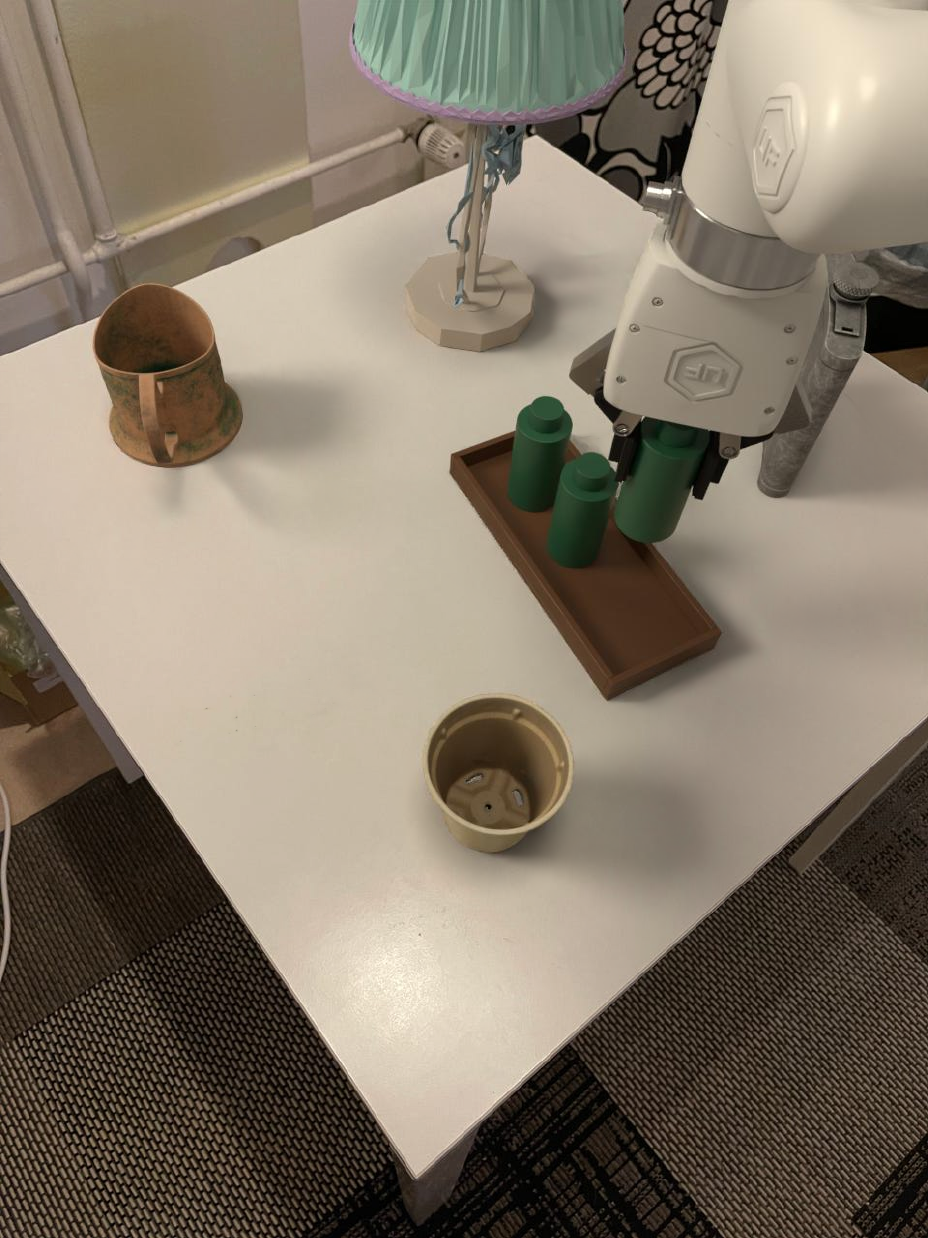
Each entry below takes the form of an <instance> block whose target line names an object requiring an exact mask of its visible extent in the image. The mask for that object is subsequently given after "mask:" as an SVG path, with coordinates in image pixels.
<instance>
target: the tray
mask: <svg viewBox="0 0 928 1238" xmlns="http://www.w3.org/2000/svg"><path fill="white" fill-rule="evenodd" d="M514 437H515V430H513V431H510V432H507V433H504V434H502V435H499V436H497V437H493V438H490V439H488V440H485V441H483V442H480V443H477V444H474V445H471V446H469V447H466V448H463V449H461V450H458V451H454V452H452V453H451V454H450V460H449V474H450V475H451V477H452V478H453V479H454V482H456V484H457V486H458V487H459V488H460V490H461V491H462V493H463V494H464V495H465V497H466V499H467V500H468V502H469V503H470V505H471V506H472V507H473V509H474V510H475V511H476V513H477V514H478V516H479V517H480V519H481V521H482V522H483V523H484V525H485V526H486V527H487V529H488V531H489V532H490V534H491V535H492V536H493V538H494V539H495V541H496V542H497V544H498V545H499V546H500V548H501V549H502V551H503V553H504V554H505V555H506V557H507V558H508V560H509V561H510V563H511V564H512V565H513V567H514V568H515V570H516V571H517V572H518V574H519V576H520V577H521V578H522V580H523V582H524V583H525V584H526V586H527V588H529V589H528V590H530V592H531V593H532V594H533V596H534V598H535V599H536V600H537V602H538V604H539V605H540V607H541V608H542V609H543V611H544V612H545V613H546V615H547V616H548V618H549V619H550V621H551V622H552V624H553V625H554V627H555V628H556V629H557V631H558V632H559V634H560V635H561V636H562V638H563V639H564V641H565V642H566V644H567V645H568V647H569V648H570V650H571V651H572V653H573V654H574V655H575V657H576V658H577V660H578V661H579V663H580V664H581V665H582V668H583V669H584V670H585V671H586V673H587V675H588V676H589V677H590V679H591V680H592V682H593V683H594V685H595V686H596V687H597V689H598V690H599V692H600V693H601V695H602V696H603V698H604V699H605V701H608V700H610V699H612V698H614V697H617V696H619V695H621V694H623V693H625V692H627V691H629V690H631V689H634V688H635V687H638V686H640V685H641V684H644V683H645V682H648V681H650V680H652V679H654V678H656V677H658V676H660V675H662V674H664V673H666V672H669V671H670V670H672V669H674V668H677V667H678V666H679V667H680V666H681V665H683V664H685V663H687V662H689V661H691V660H693V659H695V658H697V657H699V656H702V655H703V654H705V653H708V652H710V651H712V650H713V649H715V647H716V646H717V644H718V642H719V640H720V639H721V637H722V635H723V633H724V632H723V630H722V629H720V626H719V625H717V623H716V622H715V621H714V620H713V618H712V617H711V616H710V613H708V612H707V611H706V609H705V608H704V607H703V606H702V604H701V603H700V601H698V599H697V598H696V597H695V595H694V594H693V593H692V592H691V590H690V589H689V588H688V587H687V586H686V584H685V583H684V581H683V580H682V579H681V577H679V575H678V574H677V573H676V571H675V570H674V569H673V568H672V566H671V565H670V564H669V562H668V561H667V560H666V559H665V558H664V556H663V555H662V554H661V553H660V551H659V550H658V549H657V548H656V546H655V545H654V543H643V542H639V541H636V540H633V539H631V538H629V537H628V536H626V535H625V534H624V533H623V532H622V531H621V530H620V529H619V528H618V526H617V524H616V522H615V519H614V510H615V507H616V503H617V500H618V498H617V497H616V496H615V499H614V502H613V506H612V509H611V513H610V516H609V519H608V523H607V526H606V530H605V533H604V536H603V540H602V543H601V547H600V550H599V553H598V556H597V558H596V559H595V560H594V561H593V562H592V563H591V564H589V565H587V566H585V567H581V568H569V567H565V566H562V565H560V564H558V563H557V562H556V561H554V560H553V559H552V558H551V556H550V555H549V553H548V551H547V548H546V542H547V537H548V532H549V527H550V523H551V518H552V513H553V508H554V505H553V506H552V507H551V508H549V509H547V510H545V511H541V512H528V511H524V510H522V509H519V508H518V507H516V506H515V505H514V504H513V503H512V502H511V501H510V499H509V497H508V494H507V487H508V480H509V473H510V466H511V459H512V451H513V444H514ZM582 454H583V453H581V451H580V450H579V449H578V448H577V447H576V445H575V444H574V443H573V442H572V440H570V442H569V447H568V451H567V456H566V461H565V465H566V464H567V463H569V462H570V461H572V460H574V459H577V458H578V457H579V456H580V455H582ZM565 465H564V466H565Z"/></svg>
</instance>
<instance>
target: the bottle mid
mask: <svg viewBox="0 0 928 1238" xmlns="http://www.w3.org/2000/svg"><path fill="white" fill-rule="evenodd" d="M581 454H582V455H580V456H579V457H578V458H577V459H574V460H572V461H570V462H569V463H567V464H566V465H565V466H564V468H563V469H562V471H561V475H560V480H559V485H558V489H557V494H556V499H555V504H554V508H553V513H552V518H551V523H550V527H549V532H548V537H547V542H546V548H547V551H548V553H549V555H550V556H551V558H552V559H553V560H554V561H556V562H557V563H558V564H560V565H562V566H565V567H569V568H581V567H585V566H587V565H589V564H591V563H592V562H593V561H594V560H595V559H596V558H597V556H598V553H599V550H600V547H601V543H602V540H603V536H604V533H605V530H606V526H607V523H608V519H609V516H610V513H611V509H612V506H613V502H614V499H615V497H616V496H617V492H618V488H619V484H620V482H615V481H614V479H615V474H616V470H615V468H613V467H612V466H611V463H610V461H609V460H608V458H607V457H605V456H604V455H603V454H601V453H598V452H594V451H593V452H592V451H589V452H588V451H587V452H583V453H581Z"/></svg>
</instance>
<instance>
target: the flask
mask: <svg viewBox="0 0 928 1238" xmlns="http://www.w3.org/2000/svg"><path fill="white" fill-rule="evenodd" d="M824 255H825V258H826V263H827V271H828V281H827V287H826V292H825V296H824V301H823V305H822V308H821V312H820V316H819V319H818V322H817V326H816V329H815V332H814V335H813V338H812V341H811V344H810V346H809V349H808V352H807V355H806V358H805V361H804V363H803V366H802V369H801V371H800V374H799V377H800V379H801V382H802V384H803V387H804V389H805V392H806V394H807V397H808V399H809V402H810V404H811V424H810V426H808V427H807V428H805V429H801V430H797V431H793V432H788V433H784V434H780V435H779V434H778V433H777V434H773V436H772V437H771V438H770V439H768V440H766V441H763V442H762V456H761V464H760V468H759V469H760V470H759V474H758V477H757V481H756V485H757V487H758V489H759V491H760V492H761V493H762V494H764V495H766V496H768V497H770V498H774V499H775V498H776V499H779V498H784V497H786V496H787V495H788V494H789V492H790V490H791V488H792V487H793V485H794V482H795V481H796V479H797V478H798V475H799V473H800V471H801V469H802V468H803V466H804V464H805V462H806V460H807V458H808V456H809V455H810V453H811V451H812V449H813V447H814V445H815V443H816V441H817V439H818V438H819V436H820V434H821V433H822V431H823V428H824V426H825V424H826V423H827V422H828V420H829V417H830V415H831V413H832V411H833V410H834V408H835V405H836V404H837V402H838V401H839V398H840V396H841V394H842V392H843V391H844V389H845V387H846V385H847V383H848V381H849V379H850V378H851V375H852V374H853V372H854V370H855V368H856V366H857V364H858V362H859V361H860V359H861V358H862V356H863V353H864V347H865V343H866V336H867V335H866V334H867V306H866V305H867V304H866V303H867V302H868V300H869V298H870V297H871V295H872V294H873V293H874V292H875V291H876V289H877V287H878V285H879V283H880V275H879V273H877V271H876V270H875V269H874V268H873V267H872V266H869V265H867V264H865V263H861V262H859V261H856V259H855V257H854V255H853V252H847V253H839V254H824Z"/></svg>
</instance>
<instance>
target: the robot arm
mask: <svg viewBox="0 0 928 1238" xmlns="http://www.w3.org/2000/svg"><path fill="white" fill-rule="evenodd" d="M722 19H723V20H722V24H721V27H720V31H719V35H718V39H717V41H716V46H715V49H714V53H713V56H712V61H711V64H710V67H709V72H708V74H707V79H706V82H705V87H704V90H703V94H702V98H701V102H700V105H699V109H698V113H697V116H696V120H695V123H694V126H693V127H694V128H693V132H692V135H691V138H690V143H689V145H688V150H687V153H686V157H685V161H684V162H683V166H682V168H681V169H682V170H681V173H680V176H679V175H674V178H673V181H666V180H665V181H664V182H663V183H662V182H656V181H650V180H649V181H648V185H647V189H646V193H645V197H644V200H643V201H644V202H643V206H642V211H644V212H648V213H655V214H656V217H657V218H658V217H659V218H661V219H660V220H659V221H658V222H657V223H656V225H655V226H654V228H653V230H652V233H651V234H650V236H649V238H648V240H647V242H646V244H645V246H644V248H643V251H642V253H641V256H640V258H639V260H638V262H637V266H636V267H635V269H634V272H633V275H632V277H631V279H630V282H629V285H628V288H627V291H626V294H625V297H624V299H623V303H622V305H621V309H620V313H619V316H618V319H617V323H616V326H615V328H613V329H612V330H610V331H609V332H608V333H607V334H605V335H604V336H602V337H601V338H599V339H598V340H597V341H595V342H594V343H593V344H591V345H590V346H588V347H587V348H586V349H584V350H583V351H581V352H580V353H579V354H577V355H576V356H575V357H574V358H573V359H572V362H571V366H570V369H569V373H568V378H569V379H570V380H571V382H573V383H574V384H575V385H576V386H577V387H578V388H580V390H582V391H583V392H585V394H586V395H588V396H589V395H590V396H591V397H593V402H594V403H595V405H596V406H597V407H598V408H599V410H600V411H601V412H602V414H604V415H605V416H606V418H607V419H608V420H609V421H610V423H611V424H612V427H611V428H612V429H611V430H612V432H613V437H612V440H611V444H610V449H609V453H608V456H607V457H608V458H607V459H608V461H609V462H615V463H616V470H615V472H616V474H615V479H614V481H615V482H619V484H622V483H623V481H626V478H627V475H628V471H629V468H630V465H631V462H632V458H633V455H634V452H635V449H636V445H637V441H638V436H639V431H640V424H641V421H642V420H643V417H645V416H646V417H651V418H655V419H660V420H664V421H669V422H674V423H678V424H683V425H688V426H693V427H697V428H702V429H707V430H709V433H710V444H709V447H708V449H707V452H706V454H705V457H704V459H703V462H702V464H701V467H700V469H699V472H698V474H697V477H696V479H695V482H694V484H693V487H692V489H691V497H693V498H694V499H695V500H699V501H703V500H704V498H705V496H706V494H707V491H708V488H709V487H710V484H716V485H719V484H720V482H721V479H722V477H723V475H724V473H725V470H726V468H727V466H728V464H729V461H730V460H734V459H736V458H738V457H739V455H740V453H741V451H742V450H743V449H747V448H749V447H752V446H755V445H758V444H761V443H763V441H766V440H768V439H770V438H771V437H772V436H773V434H777V433H778V434H779V435H780V434H784V433H788V432H793V431H797V430H801V429H805V428H807V427H808V426H810V424H811V404H810V402H809V399H808V397H807V394H806V392H805V389H804V387H803V384H802V382H801V379H800V377H799V374H800V371H801V369H802V366H803V363H804V361H805V358H806V355H807V352H808V349H809V346H810V344H811V341H812V338H813V335H814V332H815V329H816V326H817V322H818V319H819V316H820V312H821V308H822V305H823V301H824V296H825V292H826V287H827V281H828V271H827V263H826V258H825V255H824V254H839V253H847V252H852V253H854V252H862V251H869V250H877V249H886V248H893V247H902V246H903V247H904V246H910V245H916V244H921V243H928V0H728V1H727V4H726V8H725V12H724V16H723V18H722Z"/></svg>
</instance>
